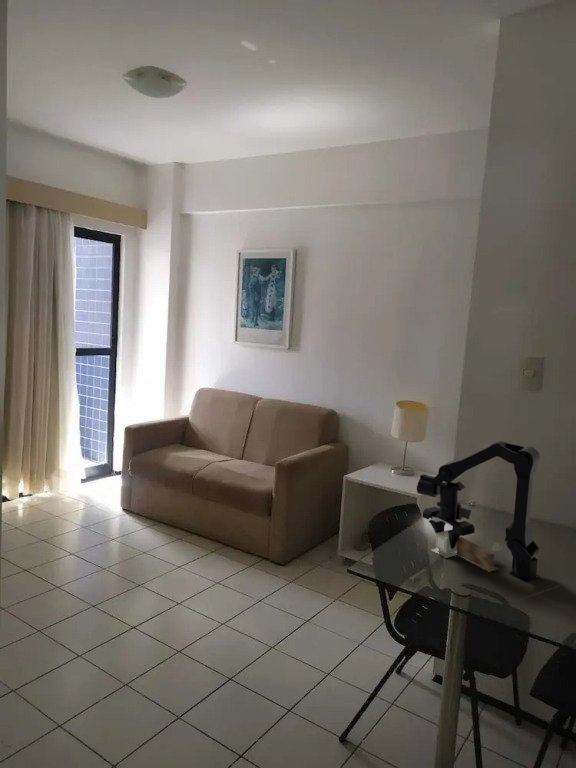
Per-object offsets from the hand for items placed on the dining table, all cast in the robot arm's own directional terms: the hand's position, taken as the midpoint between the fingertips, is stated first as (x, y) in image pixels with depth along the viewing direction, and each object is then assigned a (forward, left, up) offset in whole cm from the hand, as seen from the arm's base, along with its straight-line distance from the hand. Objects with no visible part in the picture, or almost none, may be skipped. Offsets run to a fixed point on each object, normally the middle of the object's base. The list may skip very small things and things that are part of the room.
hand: (446, 545), depth 191 cm
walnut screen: (-10, -2, -3) cm, 11 cm away
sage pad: (0, 0, -3) cm, 3 cm away
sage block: (0, 0, -1) cm, 1 cm away
